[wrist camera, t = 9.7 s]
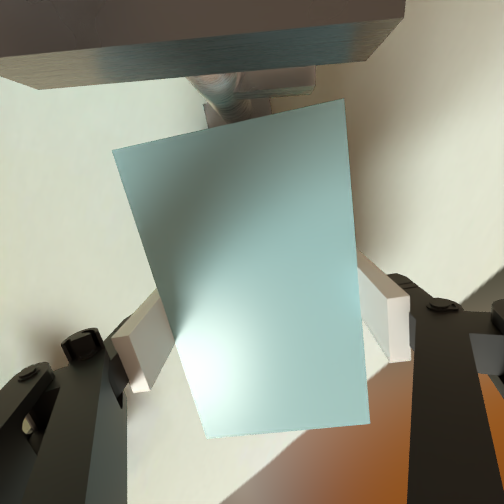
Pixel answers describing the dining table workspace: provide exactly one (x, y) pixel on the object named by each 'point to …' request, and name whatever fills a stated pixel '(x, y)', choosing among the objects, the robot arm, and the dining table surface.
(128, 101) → the dining table surface
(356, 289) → the cover
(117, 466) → the robot arm
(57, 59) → the key
